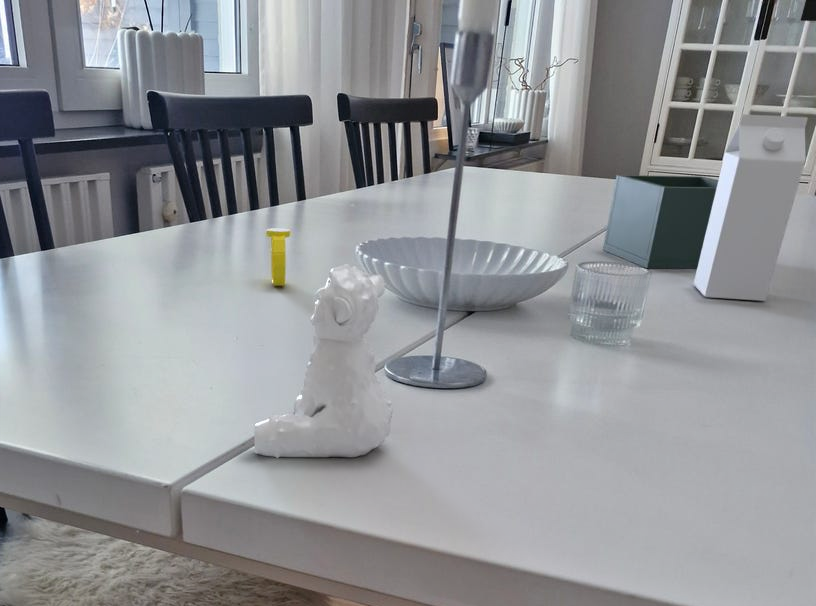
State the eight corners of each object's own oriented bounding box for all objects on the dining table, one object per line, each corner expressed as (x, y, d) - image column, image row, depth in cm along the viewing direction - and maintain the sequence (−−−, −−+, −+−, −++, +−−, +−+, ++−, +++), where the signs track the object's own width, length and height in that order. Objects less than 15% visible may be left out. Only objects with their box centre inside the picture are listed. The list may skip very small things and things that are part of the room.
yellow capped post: (291, 290, 103) (291, 234, 100) (267, 290, 103) (267, 234, 100) (288, 279, 108) (288, 225, 105) (265, 278, 108) (265, 225, 105)
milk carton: (692, 286, 114) (734, 112, 103) (750, 289, 113) (798, 115, 103) (704, 298, 108) (749, 116, 97) (765, 302, 107) (817, 119, 97)
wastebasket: (735, 268, 125) (757, 188, 119) (647, 268, 122) (664, 187, 117) (684, 250, 136) (702, 176, 130) (602, 250, 133) (616, 174, 128)
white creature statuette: (303, 413, 68) (306, 243, 62) (410, 432, 66) (426, 257, 59) (246, 454, 61) (243, 267, 54) (364, 478, 58) (376, 284, 52)
